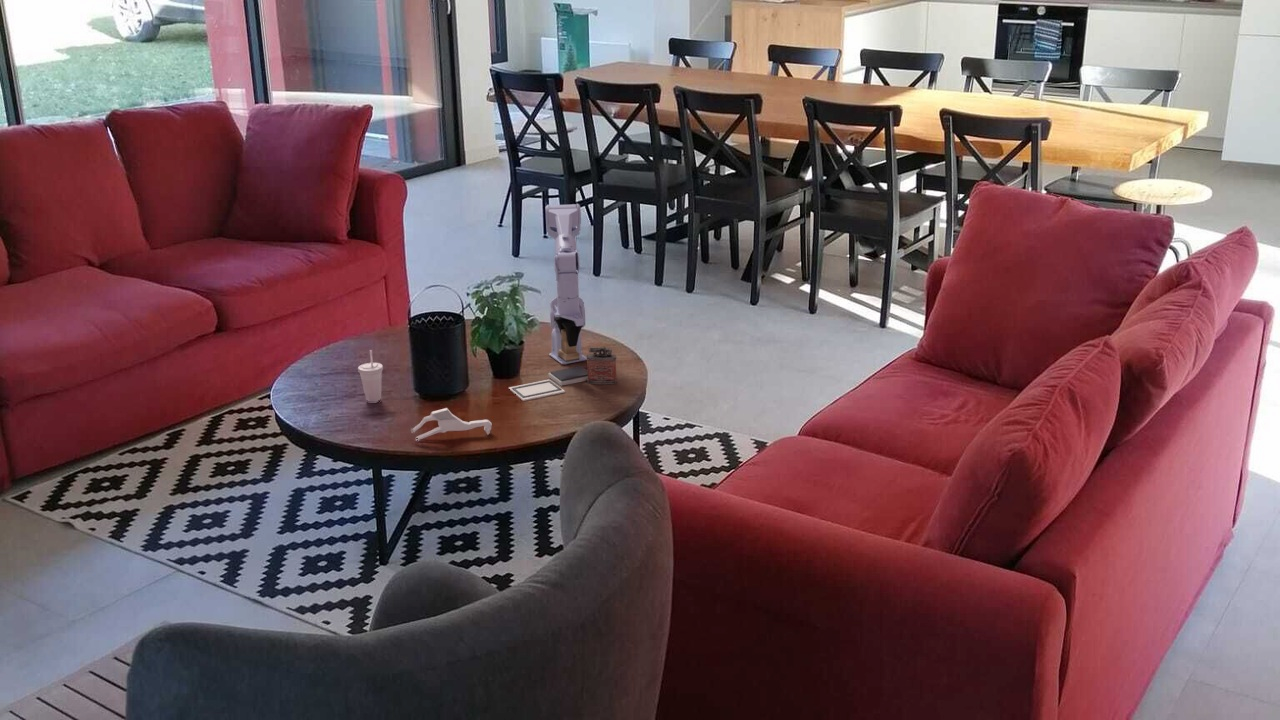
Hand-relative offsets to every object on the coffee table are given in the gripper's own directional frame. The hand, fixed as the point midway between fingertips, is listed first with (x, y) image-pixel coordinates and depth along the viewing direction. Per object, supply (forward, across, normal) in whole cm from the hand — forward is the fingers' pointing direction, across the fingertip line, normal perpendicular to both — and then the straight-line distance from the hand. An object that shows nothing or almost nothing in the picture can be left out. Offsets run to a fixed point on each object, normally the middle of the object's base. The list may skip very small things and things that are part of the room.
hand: (569, 344), depth 334 cm
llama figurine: (+10, +21, -42) cm, 48 cm away
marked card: (+10, +4, -12) cm, 16 cm away
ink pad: (+10, 0, 0) cm, 10 cm away
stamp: (+4, 0, 0) cm, 4 cm away
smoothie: (+10, -11, -52) cm, 54 cm away
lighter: (+10, +7, +6) cm, 14 cm away
